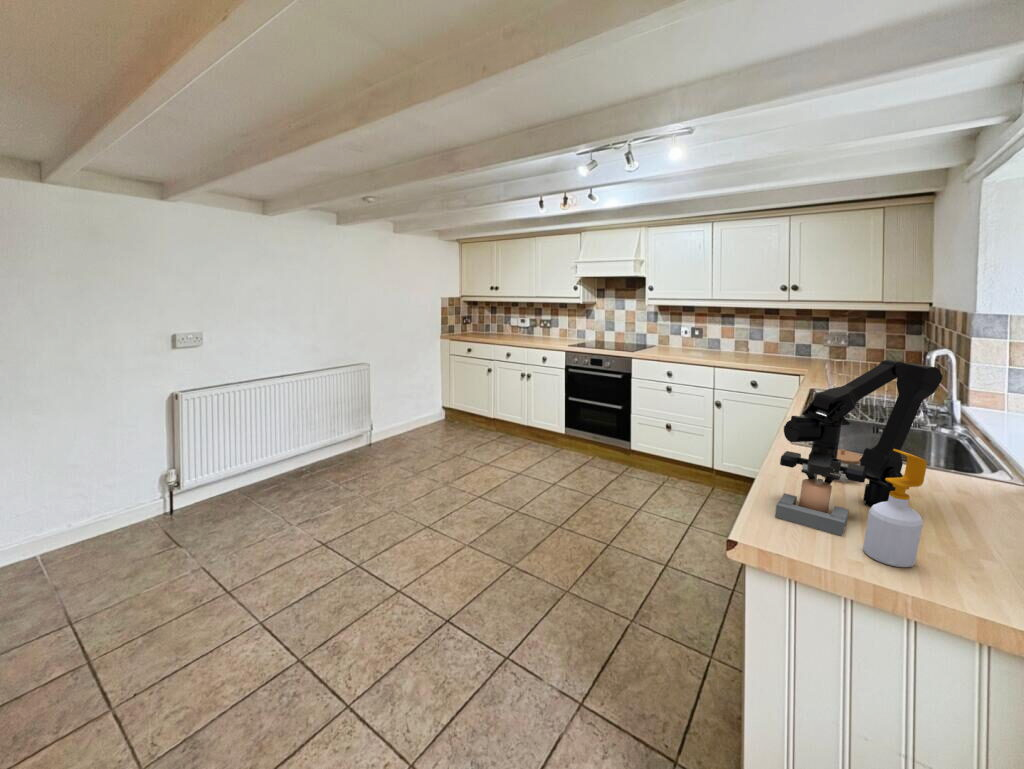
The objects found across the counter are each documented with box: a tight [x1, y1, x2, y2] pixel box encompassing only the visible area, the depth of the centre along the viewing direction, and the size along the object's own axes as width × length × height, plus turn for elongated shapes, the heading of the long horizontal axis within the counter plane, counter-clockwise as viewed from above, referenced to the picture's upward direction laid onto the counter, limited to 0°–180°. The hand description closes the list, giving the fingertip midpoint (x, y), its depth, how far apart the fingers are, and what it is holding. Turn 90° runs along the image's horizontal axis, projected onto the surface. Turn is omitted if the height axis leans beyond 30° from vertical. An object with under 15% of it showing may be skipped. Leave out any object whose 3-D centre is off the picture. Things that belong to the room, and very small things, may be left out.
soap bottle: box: [862, 449, 928, 568], centre depth 101 cm, size 9×9×25 cm
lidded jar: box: [837, 448, 863, 483], centre depth 145 cm, size 11×11×9 cm
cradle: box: [774, 492, 849, 537], centre depth 119 cm, size 14×9×4 cm, turn 49°
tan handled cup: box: [798, 477, 833, 514], centre depth 122 cm, size 6×10×9 cm, turn 139°
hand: (817, 495), depth 125 cm, fingers closed on tan handled cup
